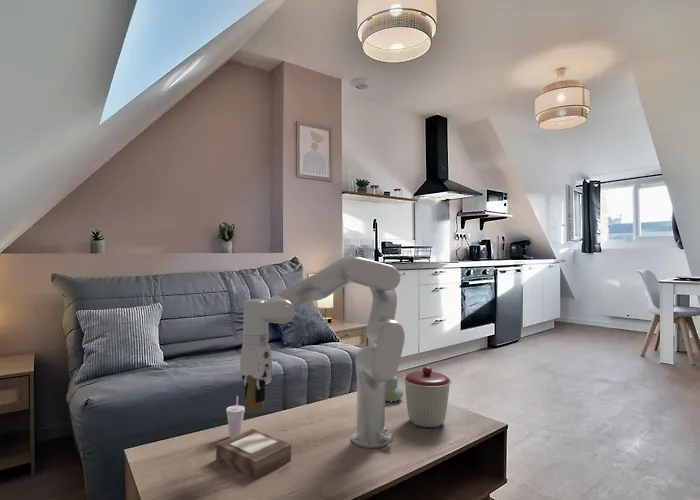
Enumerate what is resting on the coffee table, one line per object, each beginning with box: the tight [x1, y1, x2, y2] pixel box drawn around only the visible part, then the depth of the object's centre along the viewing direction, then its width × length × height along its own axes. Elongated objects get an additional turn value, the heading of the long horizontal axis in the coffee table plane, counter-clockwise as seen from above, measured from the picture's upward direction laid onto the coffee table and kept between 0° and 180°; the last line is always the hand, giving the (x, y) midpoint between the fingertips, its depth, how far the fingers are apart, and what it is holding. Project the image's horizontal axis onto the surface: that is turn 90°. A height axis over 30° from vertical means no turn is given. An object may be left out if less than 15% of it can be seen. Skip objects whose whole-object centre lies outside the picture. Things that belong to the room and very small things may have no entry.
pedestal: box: [215, 428, 292, 481], centre depth 128 cm, size 18×14×5 cm
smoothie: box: [225, 395, 246, 438], centre depth 144 cm, size 6×6×14 cm
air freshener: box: [385, 375, 404, 402], centre depth 184 cm, size 11×8×10 cm
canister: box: [402, 366, 452, 429], centre depth 159 cm, size 18×18×21 cm
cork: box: [244, 375, 265, 413], centre depth 128 cm, size 6×6×11 cm
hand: (254, 399), depth 128 cm, fingers closed on cork, 4 cm apart
